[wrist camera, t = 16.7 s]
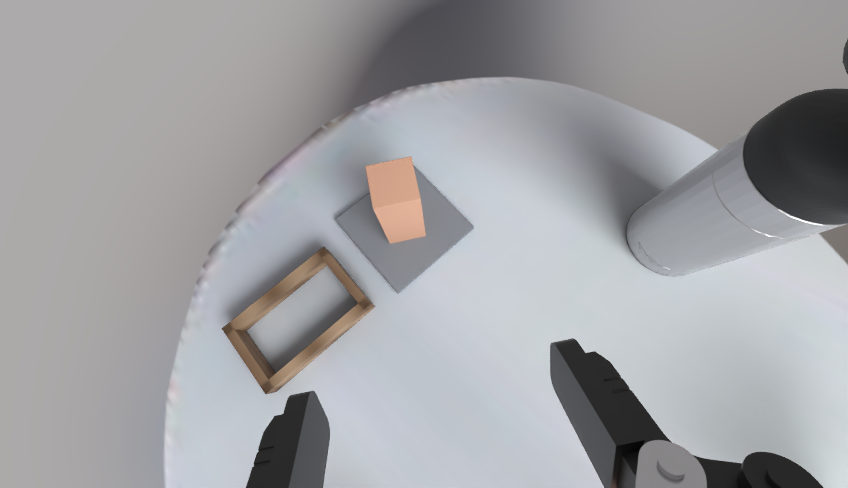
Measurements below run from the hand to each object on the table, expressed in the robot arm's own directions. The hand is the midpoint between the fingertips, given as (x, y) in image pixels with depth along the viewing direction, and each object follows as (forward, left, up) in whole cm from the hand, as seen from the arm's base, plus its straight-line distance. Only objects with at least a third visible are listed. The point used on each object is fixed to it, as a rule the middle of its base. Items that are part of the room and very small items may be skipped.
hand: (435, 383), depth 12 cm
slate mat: (-7, -15, -29) cm, 33 cm away
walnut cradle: (+9, -14, -29) cm, 33 cm away
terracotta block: (-7, -15, -28) cm, 32 cm away
